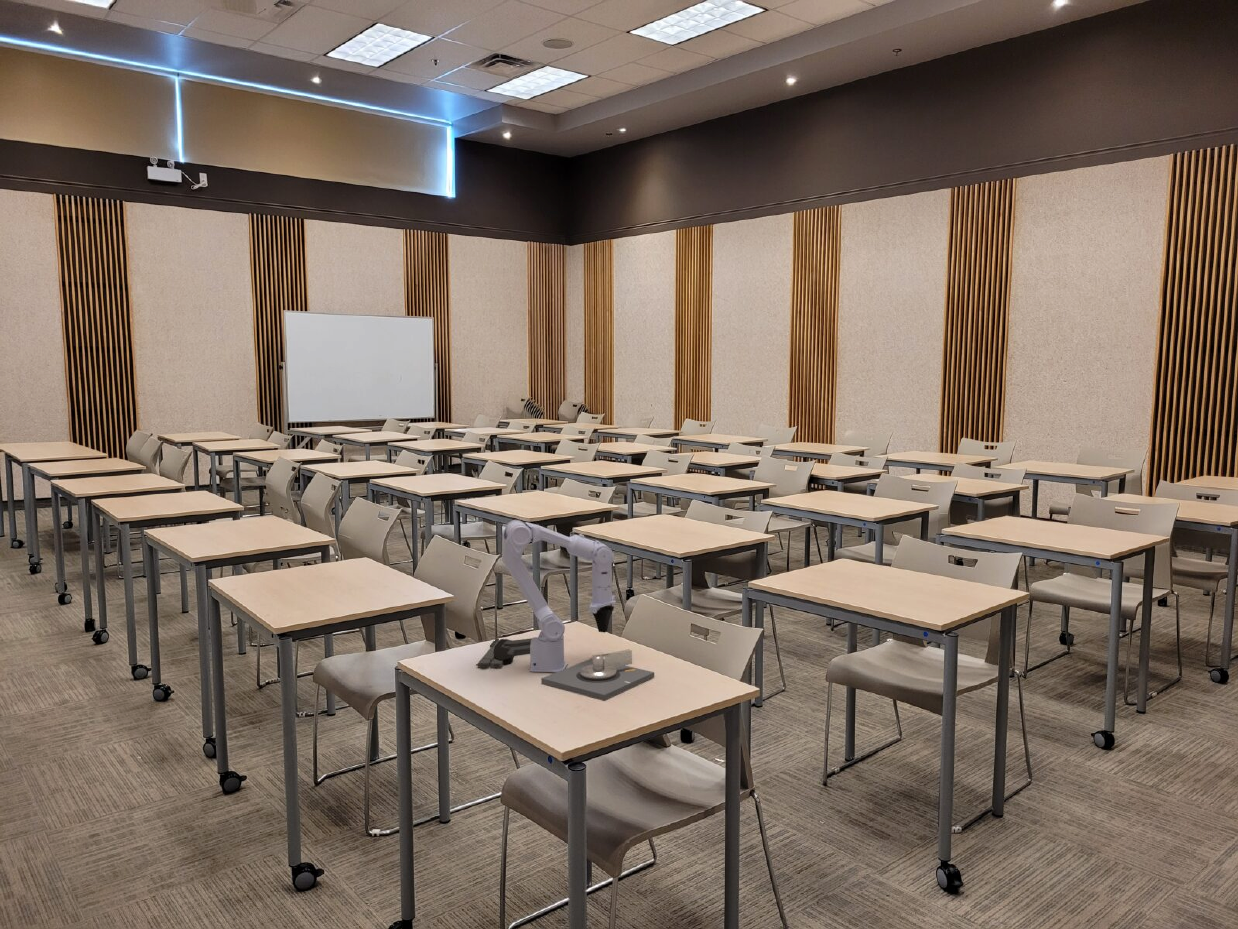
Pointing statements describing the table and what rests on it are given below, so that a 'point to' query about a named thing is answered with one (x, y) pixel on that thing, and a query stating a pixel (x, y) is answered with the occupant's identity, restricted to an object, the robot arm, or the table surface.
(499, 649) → the pistol
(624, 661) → the dial
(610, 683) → the dial plate
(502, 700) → the table surface
